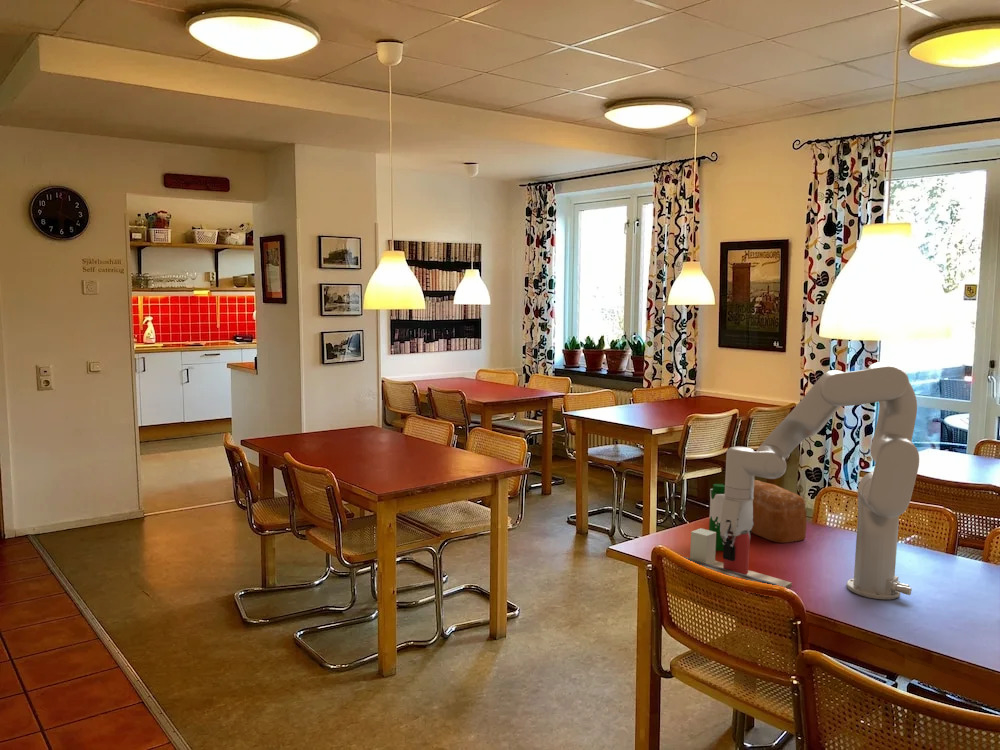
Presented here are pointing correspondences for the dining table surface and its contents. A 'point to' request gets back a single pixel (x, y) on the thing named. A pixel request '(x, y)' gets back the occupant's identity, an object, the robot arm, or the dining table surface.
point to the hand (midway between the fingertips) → (736, 555)
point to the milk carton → (716, 512)
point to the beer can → (739, 554)
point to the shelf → (749, 576)
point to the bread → (778, 513)
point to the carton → (703, 546)
